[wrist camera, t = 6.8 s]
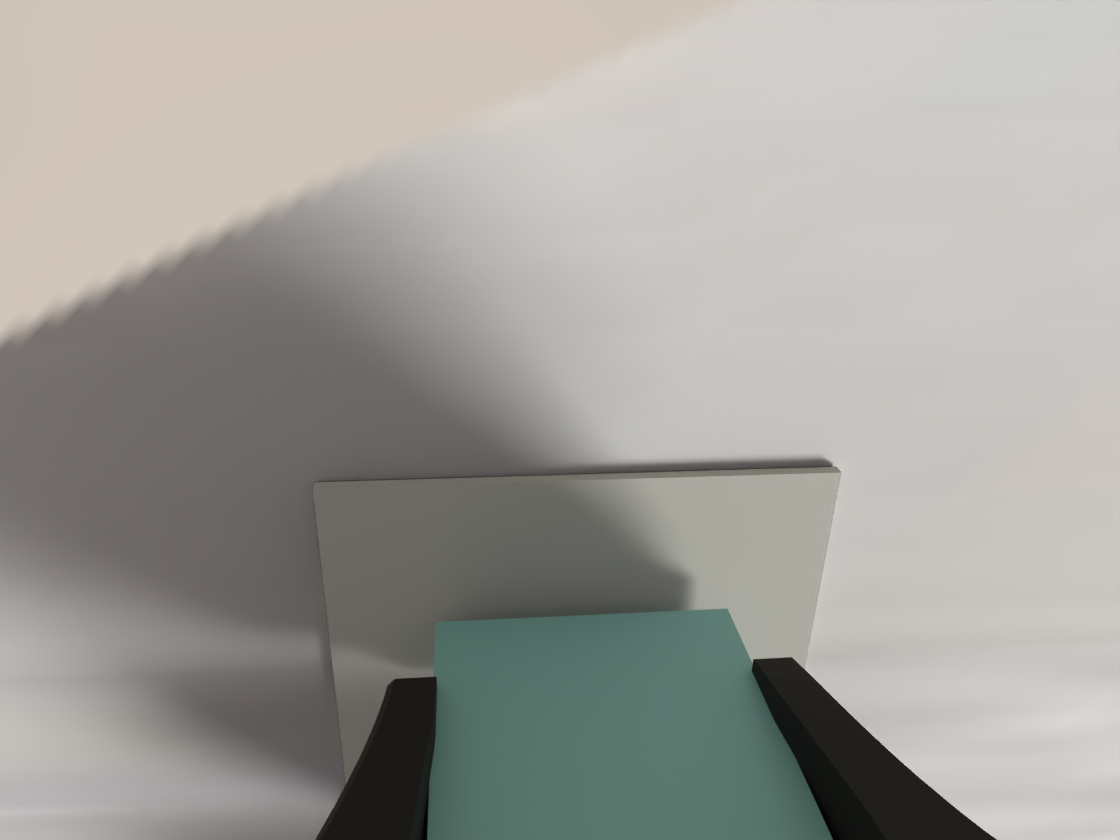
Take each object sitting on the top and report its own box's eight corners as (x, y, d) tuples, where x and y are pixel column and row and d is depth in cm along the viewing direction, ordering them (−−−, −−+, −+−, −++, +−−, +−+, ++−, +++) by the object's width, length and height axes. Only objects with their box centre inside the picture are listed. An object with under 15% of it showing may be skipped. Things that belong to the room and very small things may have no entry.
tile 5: (717, 683, 15) (865, 1063, 9) (439, 698, 14) (426, 1111, 9) (727, 607, 14) (893, 972, 9) (435, 622, 14) (420, 1017, 8)
